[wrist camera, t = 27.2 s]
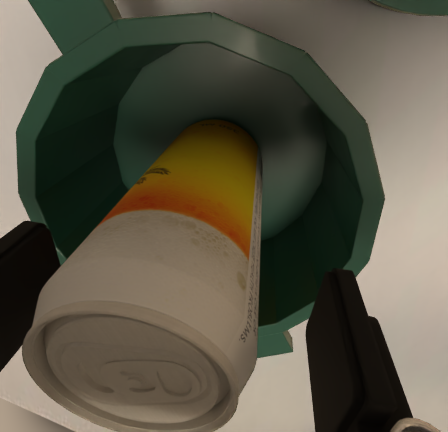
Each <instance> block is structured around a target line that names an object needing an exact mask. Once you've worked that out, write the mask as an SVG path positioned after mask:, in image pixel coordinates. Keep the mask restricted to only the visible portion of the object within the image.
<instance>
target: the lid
mask: <svg viewBox="0 0 448 432" xmlns="http://www.w3.org/2000/svg"><path fill="white" fill-rule="evenodd" d="M369 1H371V2H373V3H375V4H376V5H379V6H382V7H385V8H388V9H391V10H393V11H396V12H401V13H407V14H413V15H419V16H447V15H448V0H369Z"/></svg>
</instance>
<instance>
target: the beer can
mask: <svg viewBox="0 0 448 432" xmlns="http://www.w3.org/2000/svg"><path fill="white" fill-rule="evenodd" d="M262 178H263V162H262V156H261V153H260V150H259V148H258V146H257V144H256V142H255V141H254V140H253V138H252V137H251V136H250V135H249V134H248V133H247V132H246V131H245V130H243V129H242V128H240V127H239V126H237V125H235V124H233V123H230V122H227V121H223V120H216V119H214V120H203V121H200V122H197V123H194V124H192V125H190V126H189V127H187V128H186V129H185V130H183V131H182V132H181V133H180V134H179V136H178V137H177V138H176V139H175V140H174V141H173V142H172V143H171V144H170V146H169V147H168V148H167V149H166V150H165V151H164V152H163V153H162V154H161V156H160V157H159V158H158V159H157V160H156V161H155V162H154V163H153V164H152V166H151V167H150V168H149V169H148V170H147V171H146V172H145V173H144V174H143V176H142V177H141V178H140V179H139V180H138V181H137V182H136V183H135V184H134V186H133V187H132V188H131V189H130V190H129V191H128V192H127V193H126V194H125V196H124V197H123V198H122V199H121V200H120V201H119V202H118V203H117V204H116V206H115V207H114V208H113V209H112V210H111V211H110V212H109V213H108V214H107V216H106V217H105V218H104V219H103V220H102V221H101V222H100V223H99V224H98V226H97V227H96V228H95V229H94V230H93V231H92V232H91V233H90V234H89V236H88V237H87V238H86V239H85V240H84V241H83V242H82V243H81V244H80V246H79V247H78V248H77V249H76V250H75V251H74V252H73V253H72V254H71V256H70V257H69V258H68V259H67V260H66V261H65V262H64V263H63V264H62V266H61V267H60V268H59V269H58V270H57V271H56V272H55V273H54V274H53V276H52V277H51V278H50V279H49V280H48V281H47V283H46V284H45V285H44V287H43V288H42V290H41V292H40V294H39V297H38V302H37V306H36V311H35V315H34V320H33V324H32V328H31V329H30V330H29V331H28V333H27V334H26V337H25V339H24V341H23V346H22V356H23V361H24V364H25V366H26V369H27V371H28V372H29V374H30V376H31V377H32V379H33V380H34V381H35V383H36V384H37V385H38V386H39V387H40V388H41V389H42V390H43V391H44V392H45V393H46V394H47V395H48V396H49V397H50V398H52V399H53V400H54V401H55V402H57V403H58V404H60V405H61V406H63V407H64V408H66V409H67V410H69V411H71V412H72V413H74V414H76V415H78V416H80V417H81V418H83V419H86V420H88V421H90V422H92V423H95V424H97V425H100V426H102V427H105V428H108V429H111V430H114V431H117V432H213V431H215V430H217V429H219V428H220V427H222V426H223V425H225V424H226V423H227V422H228V421H229V420H230V419H231V418H232V416H233V415H234V413H235V411H236V408H237V405H238V397H239V395H240V393H241V392H242V390H243V388H244V387H245V385H246V383H247V381H248V380H249V378H250V376H251V374H252V372H253V371H254V368H255V365H256V360H257V341H258V308H259V276H260V243H261V210H262Z"/></svg>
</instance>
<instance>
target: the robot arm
mask: <svg viewBox="0 0 448 432" xmlns="http://www.w3.org/2000/svg"><path fill="white" fill-rule="evenodd" d="M60 267H61V265H60V261H59V258H58V254H57V251H56V247H55V244H54V241H53V237H52V234H51V231H50V229H48V228H47V226H46V225H45V224H43V223H38V222H32V221H24V222H22V223H21V224H19V225H18V226H17V227H15V228H14V229H13V230H11V231H10V232H9V233H7V234H6V235H4V236H3V237H2V238H0V372H1V370H2V369H3V368H4V367H5V366H6V364H7V363H8V362H9V361H10V359H11V358H12V357H13V356H14V354H15V353H16V352H17V351H18V350H19V348H20V347H21V346H22V345H23V341H24V339H25V337H26V334H27V333H28V331H29V330H30V329H31V328H32V324H33V320H34V315H35V311H36V306H37V302H38V297H39V294H40V292H41V290H42V288H43V287H44V285H45V284H46V283H47V281H48V280H49V279H50V278H51V277H52V276H53V274H54V273H55V272H56V271H57V270H58V269H59V268H60ZM306 343H307V353H308V363H309V373H310V383H311V392H312V402H313V412H314V422H315V432H441V431H440V430H438V429H437V428H435V427H434V426H432V425H431V424H429V423H427V422H425V421H422V420H420V419H416V418H413V416H412V413H411V410H410V408H409V405H408V402H407V399H406V396H405V394H404V391H403V388H402V385H401V383H400V380H399V377H398V374H397V371H396V369H395V366H394V363H393V360H392V358H391V355H390V352H389V349H388V346H387V344H386V341H385V338H384V335H383V333H382V330H381V327H380V324H379V322H378V320H377V319H376V318H375V317H371V316H368V314H367V311H366V308H365V305H364V302H363V299H362V296H361V293H360V290H359V287H358V284H357V281H356V278H355V275H354V272H353V271H352V270H345V269H338V268H333V269H332V270H331V272H328V271H326V272H325V274H324V277H323V280H322V283H321V286H320V289H319V292H318V294H317V297H316V300H315V303H314V306H313V309H312V312H311V315H310V317H309V320H308V323H307V326H306Z"/></svg>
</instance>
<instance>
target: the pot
mask: <svg viewBox="0 0 448 432" xmlns="http://www.w3.org/2000/svg"><path fill="white" fill-rule="evenodd" d="M28 1H29V2H30V4H31V6H32V7H33V9H34V10H35V12H36V13H37V15H38V17H39V18H40V20H41V21H42V23H43V24H44V26H45V28H46V29H47V31H48V32H49V34H50V35H51V37H52V38H53V40H54V42H55V43H56V45H57V46H58V48H59V49H60V51H61V53H62V54H63V55H62V56H60V57H59V58H57V59H56V60H54V61H53V62H51V63H50V64H49V65H48V66H47V67H46V68H45V70H44V72H43V74H42V77H41V79H40V81H39V83H38V85H37V87H36V89H35V91H34V94H33V96H32V98H31V100H30V102H29V104H28V106H27V108H26V110H25V113H24V115H23V117H22V119H21V121H20V123H19V125H18V127H17V131H16V144H17V169H18V194H19V196H20V198H21V201H22V203H23V205H24V207H25V209H26V212H27V214H28V216H29V218H30V220H31V221H32V222H38V223H43V224H45V225H46V226H47V228H48V229H50V231H51V234H52V237H53V241H54V244H55V247H56V251H57V254H58V258H59V261H60V265H61V266H62V264H63V263H64V262H65V261H66V260H67V259H68V258H69V257H70V256H71V254H72V253H73V252H74V251H75V250H76V249H77V248H78V247H79V246H80V244H81V243H82V242H83V241H84V240H85V239H86V238H87V237H88V236H89V234H90V233H91V232H92V231H93V230H94V229H95V228H96V227H97V226H98V224H99V223H100V222H101V221H102V220H103V219H104V218H105V217H106V216H107V214H108V213H109V212H110V211H111V210H112V209H113V208H114V207H115V206H116V204H117V203H118V202H119V201H120V200H121V199H122V198H123V197H124V196H125V194H126V193H127V192H128V191H129V190H130V189H131V188H132V187H133V186H134V184H135V183H136V182H137V181H138V180H139V179H140V178H141V177H142V176H143V174H144V173H145V172H146V171H147V170H148V169H149V168H150V167H151V166H152V164H153V163H154V162H155V161H156V160H157V159H158V158H159V157H160V156H161V154H162V153H163V152H164V151H165V150H166V149H167V148H168V147H169V146H170V144H171V143H172V142H173V141H174V140H175V139H176V138H177V137H178V136H179V134H180V133H181V132H182V131H183V130H185V129H186V128H187V127H189V126H190V125H192V124H194V123H197V122H200V121H203V120H214V119H216V120H223V121H227V122H230V123H233V124H235V125H237V126H239V127H240V128H242V129H243V130H245V131H246V132H247V133H248V134H249V135H250V136H251V137H252V138H253V140H254V141H255V142H256V144H257V146H258V148H259V150H260V153H261V156H262V162H263V178H262V210H261V243H260V276H259V308H258V341H257V358H261V357H266V356H272V355H278V354H284V353H290V352H293V344H292V337H291V335H290V333H289V332H288V330H289V329H290V328H292V327H294V326H296V325H298V324H300V323H301V322H303V321H305V320H307V319H309V317H310V315H311V312H312V309H313V306H314V303H315V300H316V297H317V294H318V292H319V289H320V286H321V283H322V280H323V277H324V274H325V272H326V271H328V272H331V270H332V269H333V268H338V269H345V270H352V271H353V272H354V275H355V277H356V276H357V275H358V274H359V273H360V271H361V270H362V269H363V268H364V267H365V265H366V264H367V263H368V261H369V260H370V256H371V252H372V248H373V244H374V240H375V236H376V232H377V228H378V224H379V220H380V216H381V213H382V209H383V205H384V201H385V198H384V197H385V195H384V191H383V187H382V183H381V178H380V174H379V170H378V166H377V162H376V158H375V153H374V149H373V145H372V141H371V137H370V133H369V128H368V124H367V123H366V120H365V119H364V118H363V117H362V115H361V114H360V113H359V112H358V111H357V110H356V108H355V107H354V106H353V105H352V104H351V103H350V102H349V100H348V99H347V98H346V97H345V96H344V95H343V93H342V92H341V91H340V90H339V89H338V88H337V86H336V85H335V84H334V83H333V82H332V81H331V80H330V78H329V77H328V76H327V75H326V74H325V73H324V71H323V70H322V69H321V68H320V67H319V66H318V64H317V63H316V62H315V61H314V60H313V59H312V57H311V56H310V55H309V54H308V53H306V52H305V51H304V50H302V49H300V48H297V47H295V46H292V45H290V44H288V43H285V42H283V41H281V40H278V39H276V38H273V37H271V36H269V35H266V34H264V33H262V32H259V31H257V30H254V29H252V28H250V27H247V26H245V25H243V24H240V23H238V22H235V21H233V20H231V19H228V18H226V17H224V16H221V15H219V14H217V13H211V12H203V13H190V14H176V15H163V16H149V17H136V18H122V17H121V15H120V13H119V11H118V9H117V7H116V5H115V3H114V1H113V0H28Z"/></svg>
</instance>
